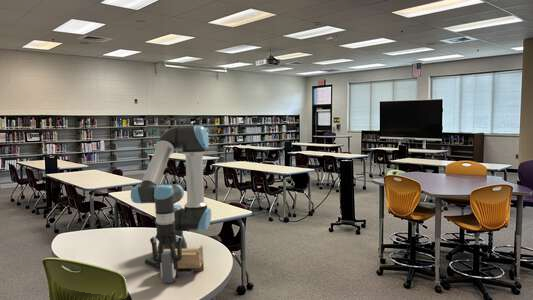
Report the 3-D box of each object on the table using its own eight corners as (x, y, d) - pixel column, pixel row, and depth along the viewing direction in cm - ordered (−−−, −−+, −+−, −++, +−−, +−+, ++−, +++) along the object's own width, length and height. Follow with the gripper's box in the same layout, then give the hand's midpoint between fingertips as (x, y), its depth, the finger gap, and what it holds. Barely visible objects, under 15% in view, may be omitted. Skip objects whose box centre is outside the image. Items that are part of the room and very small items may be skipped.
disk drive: (180, 265, 184) (163, 258, 195) (180, 259, 184) (163, 252, 194) (160, 272, 177) (144, 264, 187) (160, 266, 177) (144, 258, 187)
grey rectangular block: (171, 270, 175) (170, 244, 174) (180, 270, 175) (178, 244, 174) (162, 282, 162) (161, 254, 161) (172, 282, 162) (170, 254, 161)
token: (181, 272, 175) (181, 266, 175) (194, 272, 175) (194, 266, 175) (177, 277, 169) (176, 271, 169) (190, 277, 169) (190, 271, 169)
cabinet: (164, 270, 177) (163, 246, 176) (203, 269, 177) (202, 245, 176) (159, 277, 169) (157, 252, 168) (200, 276, 169) (199, 251, 168)
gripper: (142, 225, 158) (145, 281, 160) (183, 224, 157) (186, 280, 159) (148, 220, 166) (151, 273, 168) (188, 219, 165) (190, 272, 167)
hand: (168, 276), depth 164 cm, fingers closed on grey rectangular block, 4 cm apart
